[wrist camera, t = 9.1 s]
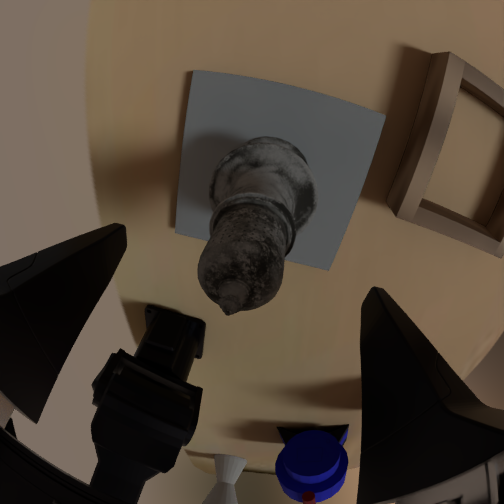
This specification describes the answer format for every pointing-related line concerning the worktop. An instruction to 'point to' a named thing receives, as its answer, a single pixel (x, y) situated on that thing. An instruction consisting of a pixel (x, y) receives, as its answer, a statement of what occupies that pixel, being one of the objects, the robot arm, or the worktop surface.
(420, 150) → the walnut holder
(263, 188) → the salt shaker
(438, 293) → the worktop surface
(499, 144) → the worktop surface
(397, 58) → the worktop surface
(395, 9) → the worktop surface
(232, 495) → the lava lamp
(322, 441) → the alarm clock
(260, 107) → the slate coaster
